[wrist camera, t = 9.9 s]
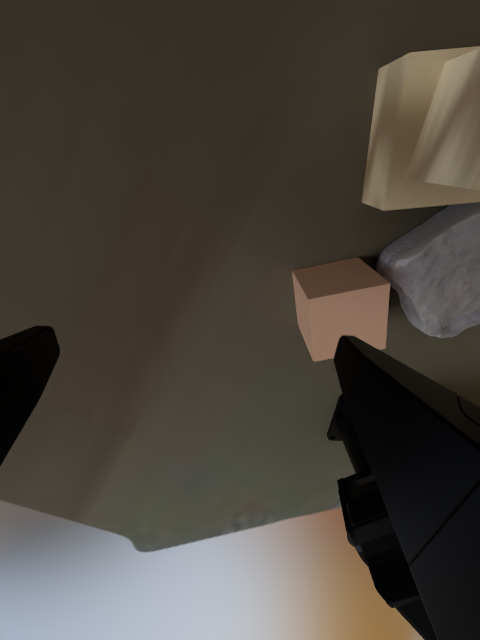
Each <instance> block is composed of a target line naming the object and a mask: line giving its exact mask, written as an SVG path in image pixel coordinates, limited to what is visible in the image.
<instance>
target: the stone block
mask: <svg viewBox="0 0 480 640" xmlns="http://www.w3.org/2000/svg"><path fill="white" fill-rule="evenodd" d="M376 272H377V273H378V274H379V275H381V276H382V277H383V278H384V279H386V280H387V281H388V282H389V283H390V285H391V286H392V287H393V288H394V289H395V290H396V291H397V292H398V294H399V298H400V304H401V307H402V308H403V310H404V312H405V315H406V317H407V319H408V320H409V321H410V323H411V324H412V325H413V326H414V327H416V328H418V329H419V330H421V331H422V332H424V333H425V334H427V335H429V336H436V337H438V338H444V337H453V336H456V335H458V334H459V333H460V332H462V331H463V330H464V329H467V328H469V327H471V326H476V325H479V324H480V202H475V203H464V204H453V205H449V206H447V207H446V208H444V209H443V210H441V211H440V212H438V213H436V214H435V215H433V216H432V217H431V218H429V219H428V220H427V221H425V222H424V223H422V224H421V225H419V226H417V227H415V228H413V229H412V230H410V231H409V232H407V233H406V234H404V235H403V236H401V237H400V238H398V239H396V240H395V241H394V242H392V243H391V244H389V245H388V246H387V247H386V248H385V249H384V250H383V251H382V252H381V253H380V256H379V258H378V260H377V263H376Z"/></svg>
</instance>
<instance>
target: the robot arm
mask: <svg viewBox="0 0 480 640" xmlns="http://www.w3.org/2000/svg"><path fill="white" fill-rule="evenodd" d="M59 354H60V348H59V344H58V341H57V338H56V335H55V331H54V329H53V328H52V327H50V326H34V327H32V328H29V329H26V330H24V331H21V332H19V333H16V334H13V335H11V336H8V337H6V338H3V339H1V340H0V466H1V464H2V462H3V461H4V459H5V457H6V456H7V454H8V452H9V450H10V449H11V447H12V445H13V444H14V442H15V440H16V439H17V437H18V435H19V433H20V432H21V430H22V428H23V427H24V425H25V423H26V422H27V420H28V418H29V416H30V415H31V413H32V411H33V410H34V408H35V406H36V405H37V403H38V401H39V399H40V397H41V395H42V393H43V391H44V389H45V387H46V384H47V382H48V380H49V378H50V375H51V373H52V371H53V369H54V366H55V364H56V362H57V360H58V357H59ZM334 363H335V367H336V371H337V375H338V379H339V382H340V386H341V390H342V394H343V395H341V396H340V397H339V400H338V403H337V406H336V409H335V412H334V415H333V418H332V421H331V424H330V427H329V430H328V433H327V437H328V439H329V440H334V441H343V443H344V445H345V448H346V450H347V453H348V455H349V458H350V460H351V463H352V465H353V468H354V470H355V473H356V474H353V475H351V476H349V477H346V478H344V479H343V478H341V479H339V480H337V482H338V487H339V490H338V491H339V496H340V501H341V506H342V511H343V517H344V521H345V527H346V531H347V538H348V541H349V543H350V544H351V545H352V546H354V547H355V548H356V550H357V552H358V554H359V555H360V557H361V559H362V560H363V561H364V563H365V564H366V565H367V566H368V567H369V570H370V573H371V576H372V579H373V582H374V585H375V588H376V590H377V591H378V593H379V594H380V595H381V596H382V598H383V599H384V600H385V601H386V603H387V604H388V605H389V606H390V607H391V608H394V607H395V608H396V609H397V610H398V611H399V612H400V613H401V615H402V616H403V617H404V618H405V619H406V620H407V621H408V622H409V623H410V624H411V626H412V627H413V628H414V629H415V630H416V631H417V632H418V633H419V634H420V635H421V636H422V637H423V639H424V640H480V407H479V406H477V405H475V404H473V403H472V402H470V401H468V400H466V399H465V398H463V397H461V396H457V394H456V393H454V392H452V391H450V390H449V389H447V388H445V387H443V386H442V385H440V384H438V383H436V382H435V381H433V380H431V379H429V378H427V377H426V376H424V375H422V374H420V373H419V372H417V371H415V370H413V369H412V368H410V367H408V366H406V365H405V364H403V363H401V362H399V361H398V360H396V359H394V358H392V357H391V356H389V355H387V354H385V353H384V352H382V351H380V350H378V349H377V348H375V347H373V346H371V345H369V344H368V343H366V342H364V341H362V340H361V339H359V338H357V337H355V336H352V335H342V336H341V337H340V338H339V341H338V344H337V348H336V351H335V355H334Z"/></svg>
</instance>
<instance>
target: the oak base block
mask: <svg viewBox="0 0 480 640" xmlns="http://www.w3.org/2000/svg"><path fill="white" fill-rule="evenodd" d="M479 48H480V46H476V47H465V48H454V49H443V50H432V51H421V52H410V53H408V54H406V55H404V56H403V57H401V58H399V59H397V60H395V61H393V62H391V63H389V64H388V65H386V66H384V67H382V68H380V69H379V72H378V79H377V87H376V95H375V103H374V110H373V118H372V126H371V133H370V141H369V149H368V157H367V164H366V172H365V180H364V188H363V195H362V203H364V204H367V205H370V206H372V207H375V208H378V209H380V210H383V211H387V210H398V209H409V208H420V207H431V206H442V205H453V204H464V203H475V202H480V190H473V189H466V188H459V187H453V186H447V185H440V184H434V183H428V182H421V181H415V180H409V179H405V177H406V174H407V171H408V169H409V166H410V163H411V160H412V157H413V154H414V151H415V148H416V145H417V143H418V140H419V137H420V134H421V131H422V128H423V125H424V122H425V120H426V117H427V114H428V111H429V108H430V105H431V102H432V99H433V96H434V94H435V91H436V88H437V85H438V82H439V79H440V76H441V73H442V71H443V68H444V65H445V62H447V61H449V60H452V59H454V58H457V57H459V56H461V55H464V54H466V53H469V52H471V51H474V50H476V49H479Z"/></svg>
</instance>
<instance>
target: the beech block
mask: <svg viewBox="0 0 480 640" xmlns="http://www.w3.org/2000/svg"><path fill="white" fill-rule="evenodd" d="M405 179H409V180H415V181H421V182H428V183H434V184H440V185H447V186H453V187H459V188H466V189H473V190H480V48H479V49H476V50H474V51H471V52H469V53H466V54H464V55H461V56H459V57H457V58H454V59H452V60H449V61H447V62H445V65H444V68H443V71H442V73H441V76H440V79H439V82H438V85H437V88H436V91H435V94H434V96H433V99H432V102H431V105H430V108H429V111H428V114H427V117H426V120H425V122H424V125H423V128H422V131H421V134H420V137H419V140H418V143H417V145H416V148H415V151H414V154H413V157H412V160H411V163H410V166H409V169H408V171H407V174H406V177H405Z"/></svg>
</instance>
